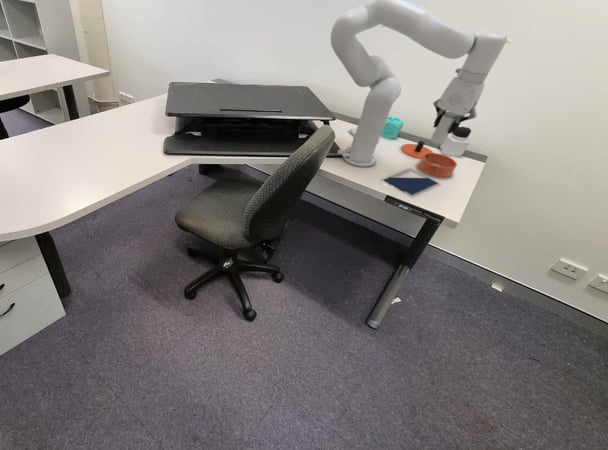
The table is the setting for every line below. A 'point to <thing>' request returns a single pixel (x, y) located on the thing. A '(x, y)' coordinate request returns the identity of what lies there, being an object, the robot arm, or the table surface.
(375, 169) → the table surface
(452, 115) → the salt shaker
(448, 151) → the medicine bottle
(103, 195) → the table surface
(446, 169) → the pot
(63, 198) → the table surface
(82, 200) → the table surface
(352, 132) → the hard drive
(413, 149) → the pot lid
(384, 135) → the decorative dice
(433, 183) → the towel
